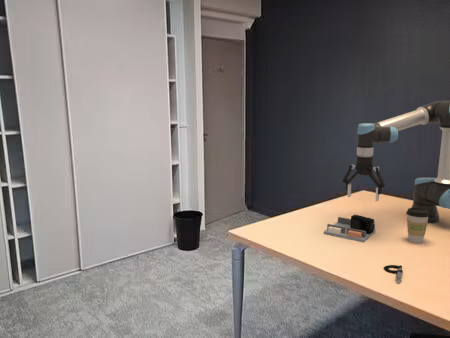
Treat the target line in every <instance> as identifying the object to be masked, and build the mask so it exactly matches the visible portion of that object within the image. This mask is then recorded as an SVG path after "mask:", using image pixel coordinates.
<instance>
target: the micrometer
mask: <svg viewBox="0 0 450 338" xmlns="http://www.w3.org/2000/svg"><path fill="white" fill-rule="evenodd" d="M392 269H393V270H392ZM394 269H395V270H394ZM396 269H397V270H396ZM383 271H384V272H386V273H389V274H396V275H395V282H396V283H397V284H400V283H401V282H402V280H403V273H404V271H403V266H402V265H396V264H389V265H385V266H384V267H383Z"/></svg>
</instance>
